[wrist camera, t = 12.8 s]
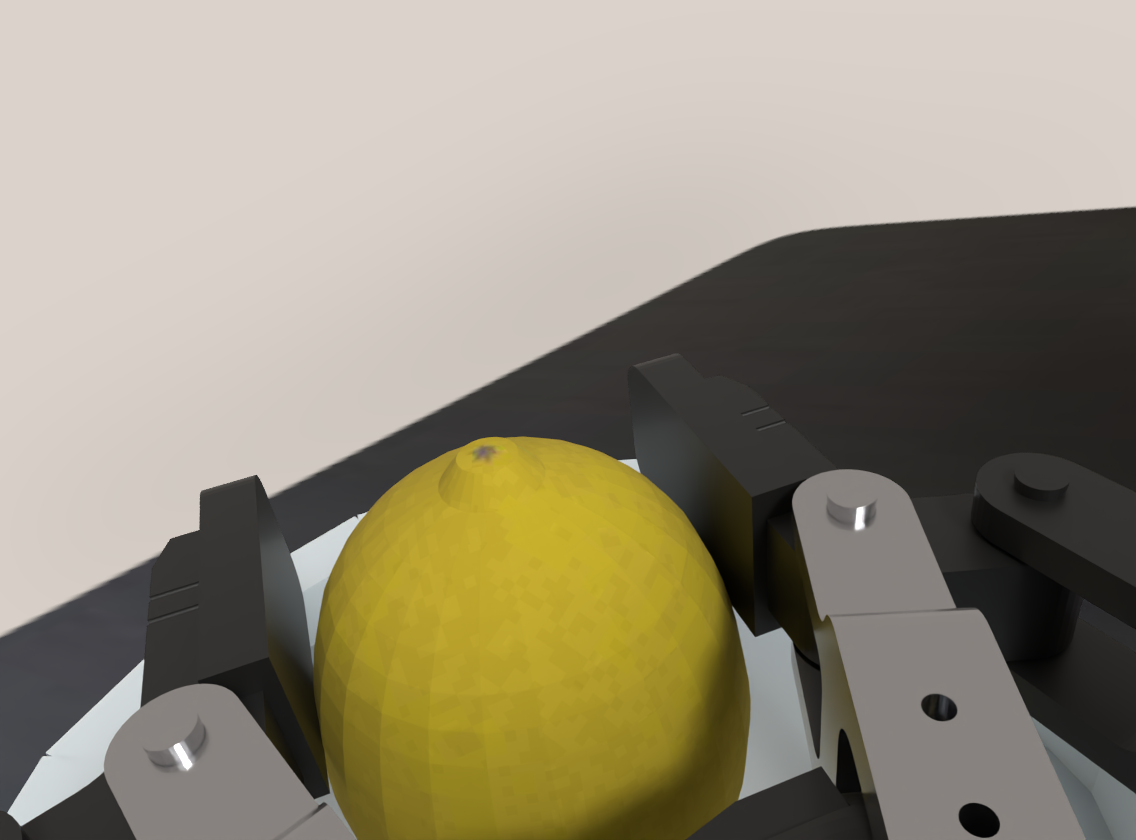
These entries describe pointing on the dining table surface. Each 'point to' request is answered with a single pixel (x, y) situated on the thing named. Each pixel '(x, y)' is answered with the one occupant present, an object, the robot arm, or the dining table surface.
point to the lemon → (529, 656)
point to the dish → (775, 744)
